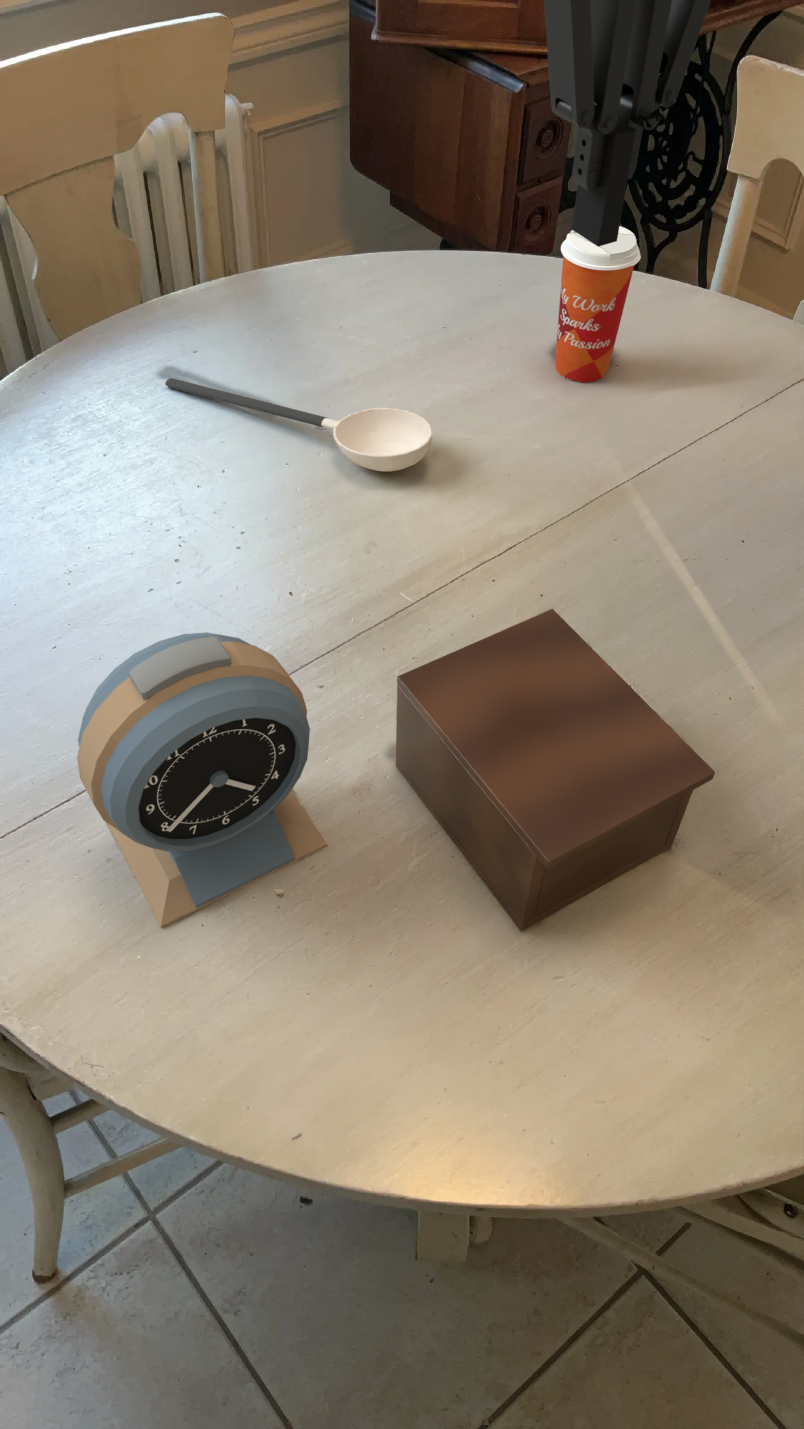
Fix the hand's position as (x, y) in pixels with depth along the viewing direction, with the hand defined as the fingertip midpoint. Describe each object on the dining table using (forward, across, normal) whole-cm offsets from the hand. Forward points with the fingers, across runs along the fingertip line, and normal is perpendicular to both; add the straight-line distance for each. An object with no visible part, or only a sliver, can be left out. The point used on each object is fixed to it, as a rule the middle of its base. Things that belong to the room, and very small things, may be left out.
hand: (594, 234), depth 66 cm
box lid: (+21, +14, +18) cm, 31 cm away
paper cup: (+31, -25, -26) cm, 47 cm away
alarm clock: (+31, +34, +8) cm, 46 cm away
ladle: (+31, +7, -32) cm, 44 cm away
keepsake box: (+30, +14, +18) cm, 38 cm away
